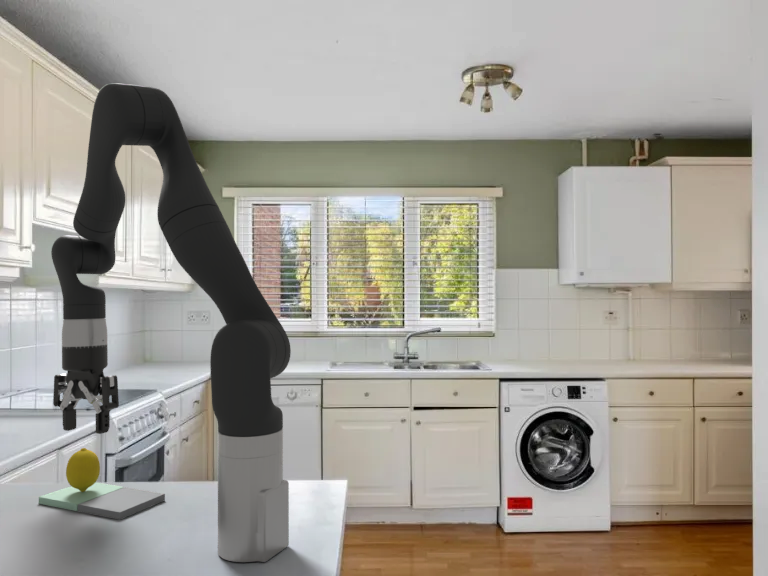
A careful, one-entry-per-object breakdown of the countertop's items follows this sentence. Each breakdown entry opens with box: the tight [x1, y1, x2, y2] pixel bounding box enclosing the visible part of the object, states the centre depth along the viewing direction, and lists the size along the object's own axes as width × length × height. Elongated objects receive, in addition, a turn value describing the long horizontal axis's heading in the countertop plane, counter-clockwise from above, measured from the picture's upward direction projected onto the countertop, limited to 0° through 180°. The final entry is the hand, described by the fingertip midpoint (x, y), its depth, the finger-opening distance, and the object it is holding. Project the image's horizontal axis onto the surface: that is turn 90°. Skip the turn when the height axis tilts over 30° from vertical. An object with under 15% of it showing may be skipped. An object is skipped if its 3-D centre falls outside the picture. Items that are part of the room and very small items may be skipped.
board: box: [38, 481, 166, 520], centre depth 104 cm, size 20×10×1 cm, turn 66°
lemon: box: [65, 447, 101, 492], centre depth 106 cm, size 6×6×8 cm
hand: (85, 431), depth 106 cm, fingers open, 8 cm apart
